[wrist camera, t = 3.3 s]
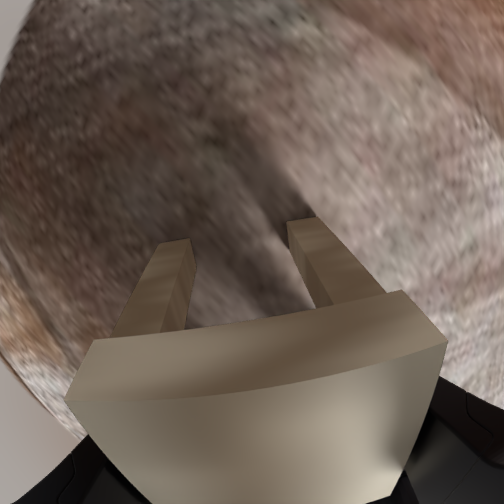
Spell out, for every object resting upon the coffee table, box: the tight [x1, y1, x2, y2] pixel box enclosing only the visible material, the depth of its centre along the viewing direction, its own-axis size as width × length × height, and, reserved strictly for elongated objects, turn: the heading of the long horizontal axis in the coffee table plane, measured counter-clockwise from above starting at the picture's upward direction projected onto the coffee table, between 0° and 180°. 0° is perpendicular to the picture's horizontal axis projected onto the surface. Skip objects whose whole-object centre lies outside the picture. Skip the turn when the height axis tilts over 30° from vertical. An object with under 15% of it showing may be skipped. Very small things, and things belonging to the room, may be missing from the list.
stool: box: [64, 217, 448, 504], centre depth 9 cm, size 6×6×8 cm
